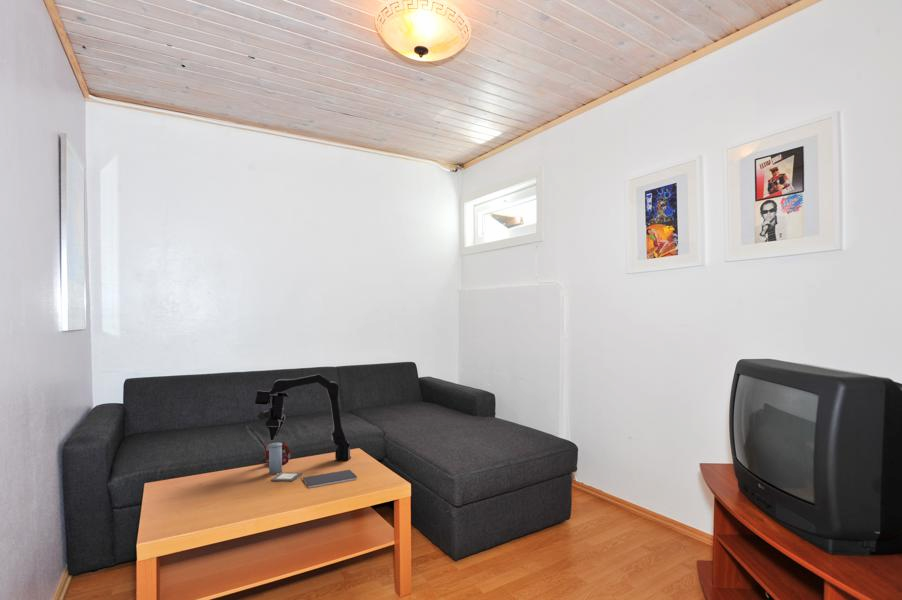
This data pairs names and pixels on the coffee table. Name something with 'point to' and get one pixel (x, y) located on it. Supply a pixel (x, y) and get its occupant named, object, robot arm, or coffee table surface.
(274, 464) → the vase
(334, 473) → the notebook
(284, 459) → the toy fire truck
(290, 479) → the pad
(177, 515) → the coffee table surface
